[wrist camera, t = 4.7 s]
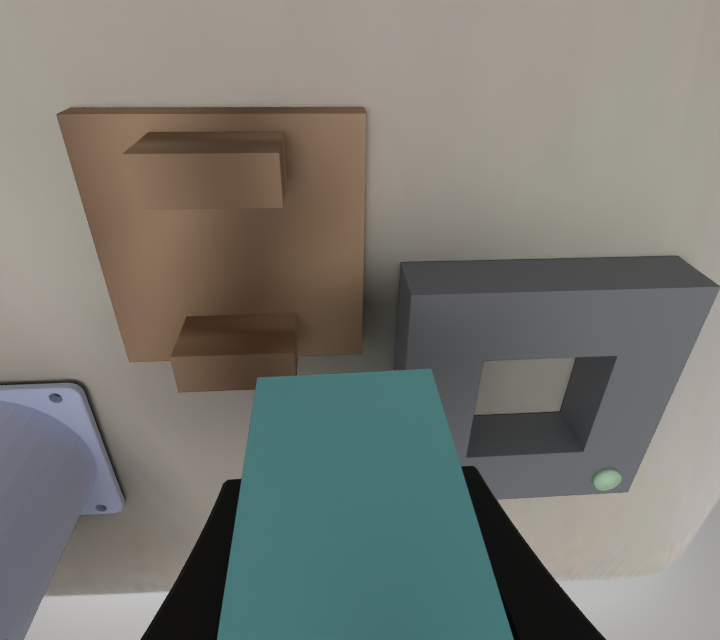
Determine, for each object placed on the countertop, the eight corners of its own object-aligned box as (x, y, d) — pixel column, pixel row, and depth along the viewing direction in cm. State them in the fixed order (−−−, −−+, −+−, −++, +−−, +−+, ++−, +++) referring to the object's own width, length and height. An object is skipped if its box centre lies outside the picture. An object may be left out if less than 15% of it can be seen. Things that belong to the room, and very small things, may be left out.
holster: (137, 346, 20) (107, 406, 17) (70, 107, 15) (13, 134, 13) (360, 339, 21) (367, 395, 18) (363, 107, 16) (374, 132, 13)
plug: (274, 492, 14) (243, 865, 8) (257, 377, 12) (196, 776, 6) (420, 483, 14) (496, 840, 8) (431, 368, 12) (544, 742, 6)
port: (388, 462, 25) (396, 510, 23) (400, 262, 19) (412, 299, 17) (602, 451, 26) (631, 497, 24) (677, 256, 20) (726, 290, 18)
